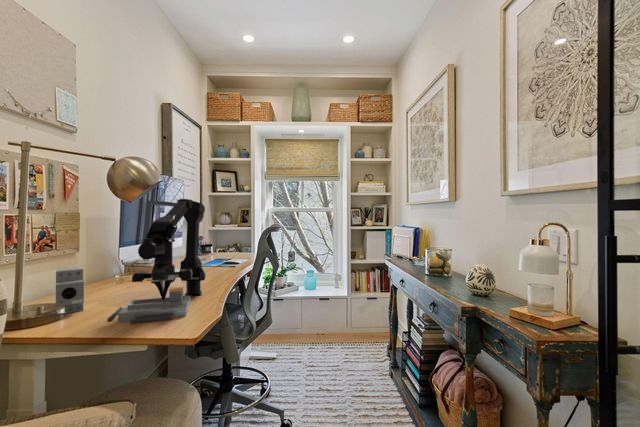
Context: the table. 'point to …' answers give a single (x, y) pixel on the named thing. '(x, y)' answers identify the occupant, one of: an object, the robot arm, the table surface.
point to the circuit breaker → (70, 288)
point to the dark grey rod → (114, 314)
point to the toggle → (176, 294)
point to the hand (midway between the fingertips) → (163, 299)
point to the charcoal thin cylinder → (150, 319)
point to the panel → (154, 308)
